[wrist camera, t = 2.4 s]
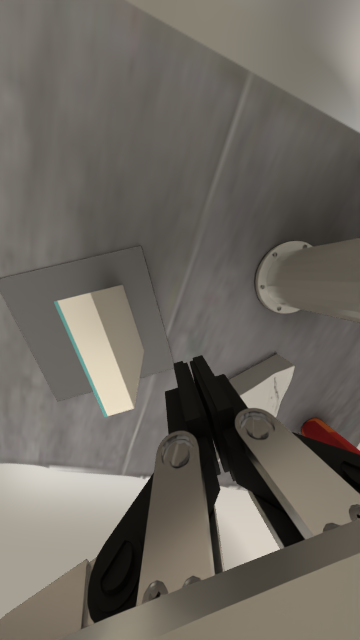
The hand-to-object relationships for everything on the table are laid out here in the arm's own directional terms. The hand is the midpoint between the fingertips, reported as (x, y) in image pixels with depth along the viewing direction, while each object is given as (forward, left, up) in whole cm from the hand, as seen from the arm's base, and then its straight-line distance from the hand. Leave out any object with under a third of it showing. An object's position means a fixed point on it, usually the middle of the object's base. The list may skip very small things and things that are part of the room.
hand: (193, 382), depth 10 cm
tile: (+8, 0, -21) cm, 22 cm away
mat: (+13, 0, -22) cm, 25 cm away
